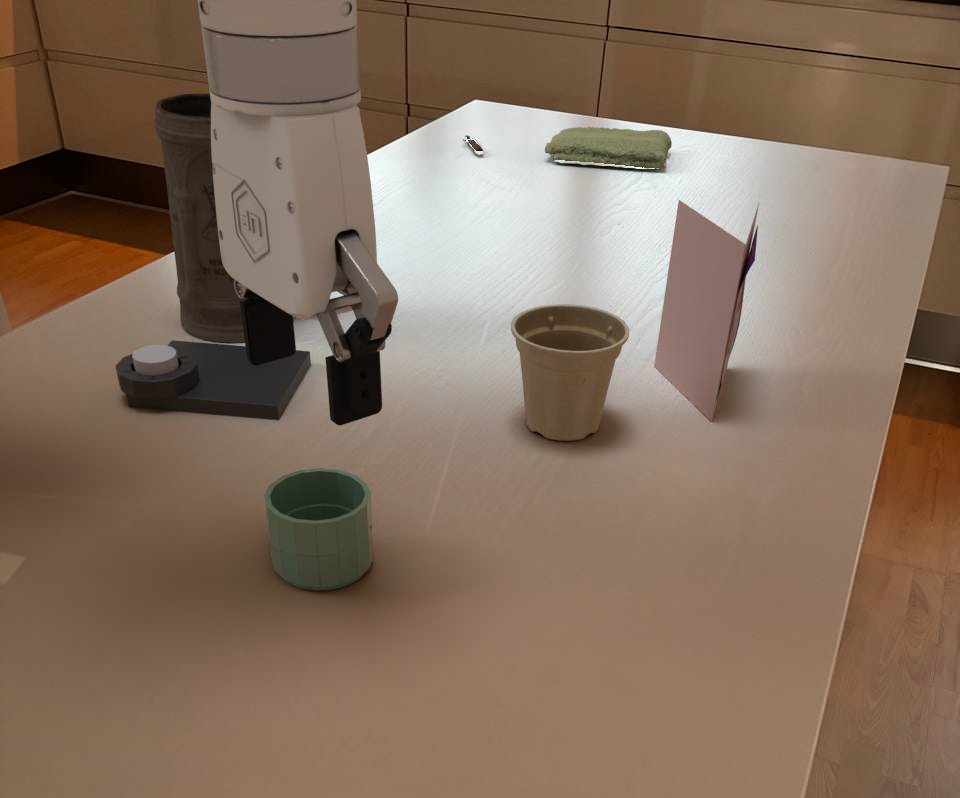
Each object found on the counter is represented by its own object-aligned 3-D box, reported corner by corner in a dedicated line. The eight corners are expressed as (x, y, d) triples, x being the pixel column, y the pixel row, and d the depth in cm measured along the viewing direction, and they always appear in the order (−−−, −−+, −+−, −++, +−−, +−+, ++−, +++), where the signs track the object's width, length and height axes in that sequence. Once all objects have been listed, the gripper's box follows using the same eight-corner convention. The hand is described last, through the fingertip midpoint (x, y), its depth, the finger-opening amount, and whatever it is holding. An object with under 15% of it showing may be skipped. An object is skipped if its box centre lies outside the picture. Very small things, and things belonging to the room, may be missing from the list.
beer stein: (182, 350, 96) (161, 115, 83) (165, 307, 103) (144, 86, 91) (342, 341, 101) (345, 119, 89) (315, 301, 108) (314, 91, 96)
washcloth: (556, 142, 158) (558, 119, 156) (671, 152, 156) (674, 129, 153) (542, 164, 148) (543, 140, 146) (664, 175, 146) (667, 151, 144)
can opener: (483, 156, 150) (483, 147, 149) (467, 156, 150) (468, 147, 149) (475, 140, 157) (475, 132, 156) (460, 140, 157) (460, 132, 156)
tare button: (128, 375, 86) (125, 360, 85) (144, 357, 88) (141, 342, 87) (170, 379, 85) (167, 364, 84) (184, 361, 88) (182, 346, 87)
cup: (260, 588, 68) (251, 518, 64) (287, 532, 73) (280, 464, 70) (361, 598, 67) (357, 527, 64) (381, 540, 73) (379, 472, 69)
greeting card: (721, 423, 88) (757, 246, 78) (636, 409, 89) (661, 233, 80) (736, 369, 96) (769, 203, 87) (657, 357, 98) (682, 192, 88)
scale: (111, 411, 86) (103, 377, 84) (161, 353, 95) (155, 322, 93) (276, 425, 85) (272, 391, 83) (311, 365, 94) (308, 334, 92)
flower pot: (536, 461, 82) (544, 359, 76) (487, 409, 88) (491, 312, 83) (637, 440, 85) (652, 341, 80) (583, 392, 92) (593, 297, 86)
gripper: (139, 46, 54) (190, 353, 65) (308, 111, 44) (335, 463, 55) (265, 34, 58) (294, 326, 69) (448, 90, 48) (448, 424, 58)
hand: (312, 387), depth 62 cm, fingers open, 9 cm apart
